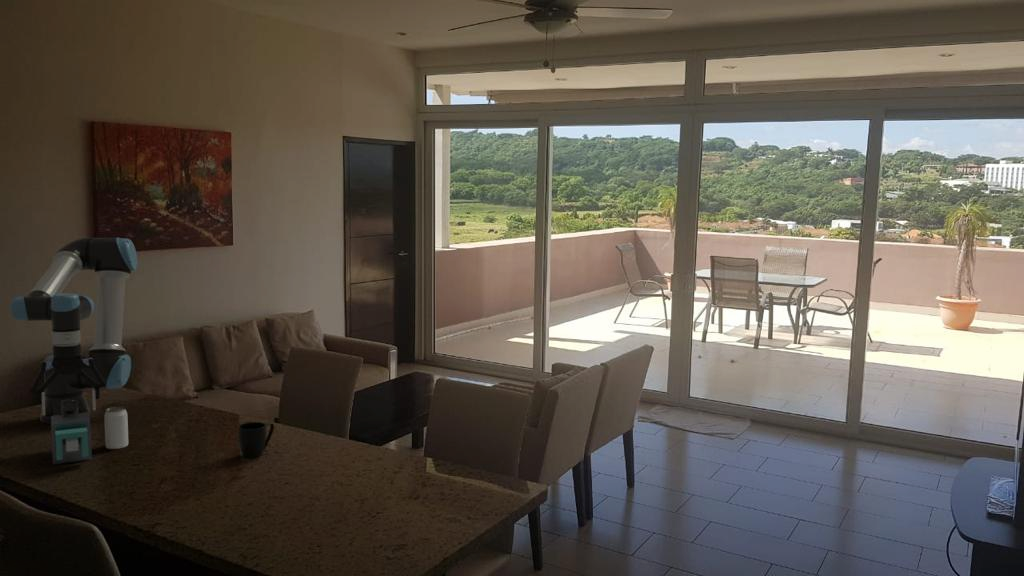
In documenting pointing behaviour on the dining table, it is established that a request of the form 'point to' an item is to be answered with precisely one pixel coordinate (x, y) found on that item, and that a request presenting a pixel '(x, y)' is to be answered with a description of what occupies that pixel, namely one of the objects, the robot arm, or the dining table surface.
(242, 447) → the mug
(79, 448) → the housing
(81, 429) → the block
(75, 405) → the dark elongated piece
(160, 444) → the dining table surface
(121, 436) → the can
